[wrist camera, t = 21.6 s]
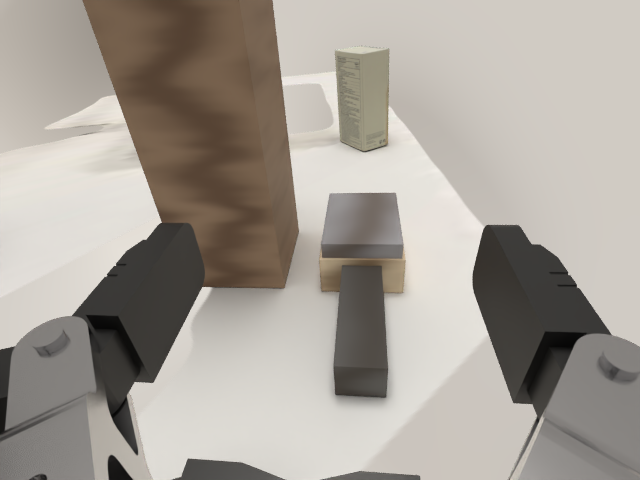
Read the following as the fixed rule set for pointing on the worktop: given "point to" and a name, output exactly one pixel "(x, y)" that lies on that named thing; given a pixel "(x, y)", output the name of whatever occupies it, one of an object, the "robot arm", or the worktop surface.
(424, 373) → the worktop surface
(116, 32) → the walnut stand
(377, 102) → the skincare box
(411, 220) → the worktop surface
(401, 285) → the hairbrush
